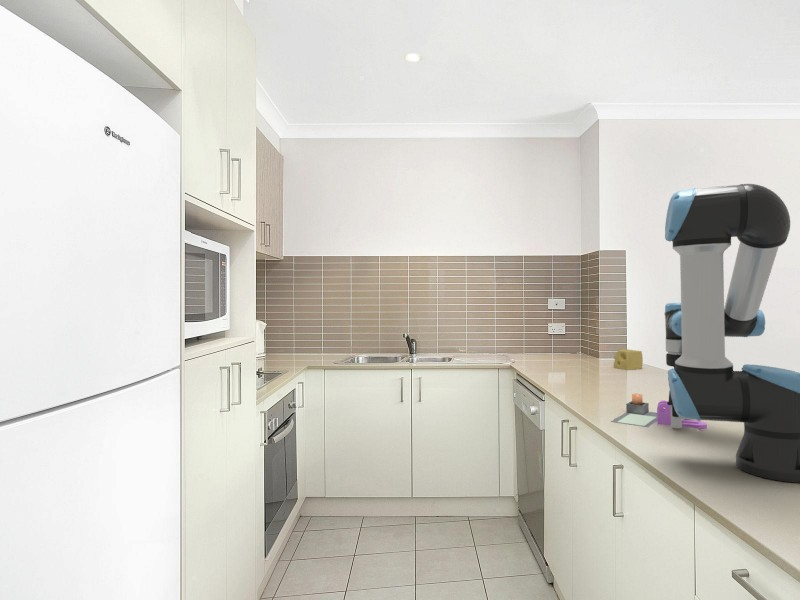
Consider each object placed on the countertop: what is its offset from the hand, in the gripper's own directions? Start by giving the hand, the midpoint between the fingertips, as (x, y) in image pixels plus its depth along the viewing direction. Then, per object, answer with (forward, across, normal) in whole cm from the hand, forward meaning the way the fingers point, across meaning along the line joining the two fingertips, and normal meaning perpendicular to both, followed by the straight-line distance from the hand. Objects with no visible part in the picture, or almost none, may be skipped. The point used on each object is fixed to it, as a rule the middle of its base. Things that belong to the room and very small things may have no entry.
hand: (681, 422), depth 148 cm
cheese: (+2, +113, +49) cm, 123 cm away
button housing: (+1, +8, +15) cm, 17 cm away
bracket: (+1, 0, 0) cm, 1 cm away
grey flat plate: (+1, +1, +12) cm, 13 cm away
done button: (-1, +8, +15) cm, 17 cm away
